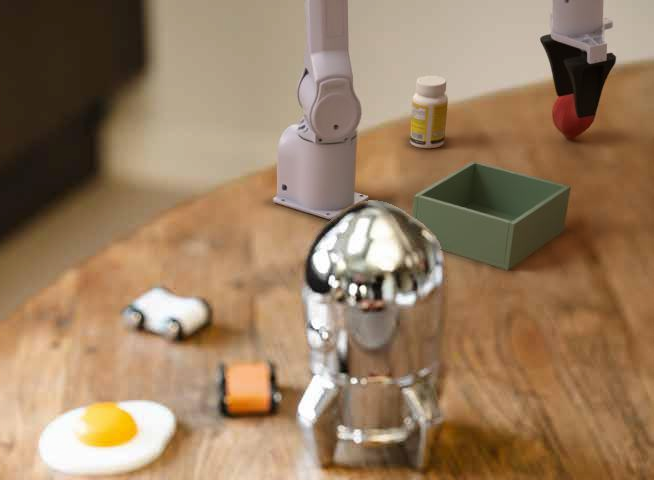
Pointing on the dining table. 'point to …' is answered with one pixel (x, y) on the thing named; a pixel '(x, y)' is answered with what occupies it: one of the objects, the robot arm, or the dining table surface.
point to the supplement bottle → (429, 112)
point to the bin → (492, 213)
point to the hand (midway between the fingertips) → (575, 104)
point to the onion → (569, 117)
